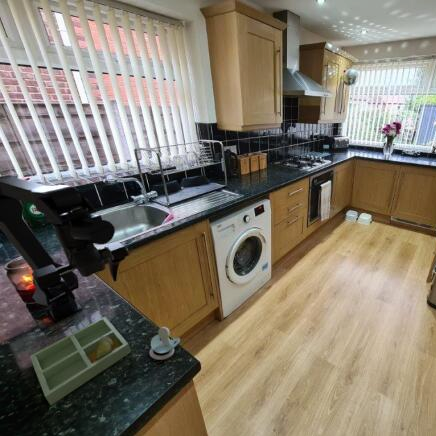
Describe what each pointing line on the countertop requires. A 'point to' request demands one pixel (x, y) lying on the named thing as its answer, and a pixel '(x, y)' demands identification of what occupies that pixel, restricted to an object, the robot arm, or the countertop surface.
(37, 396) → the countertop surface
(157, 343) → the pacifier
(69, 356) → the green divided tray
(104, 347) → the lime
